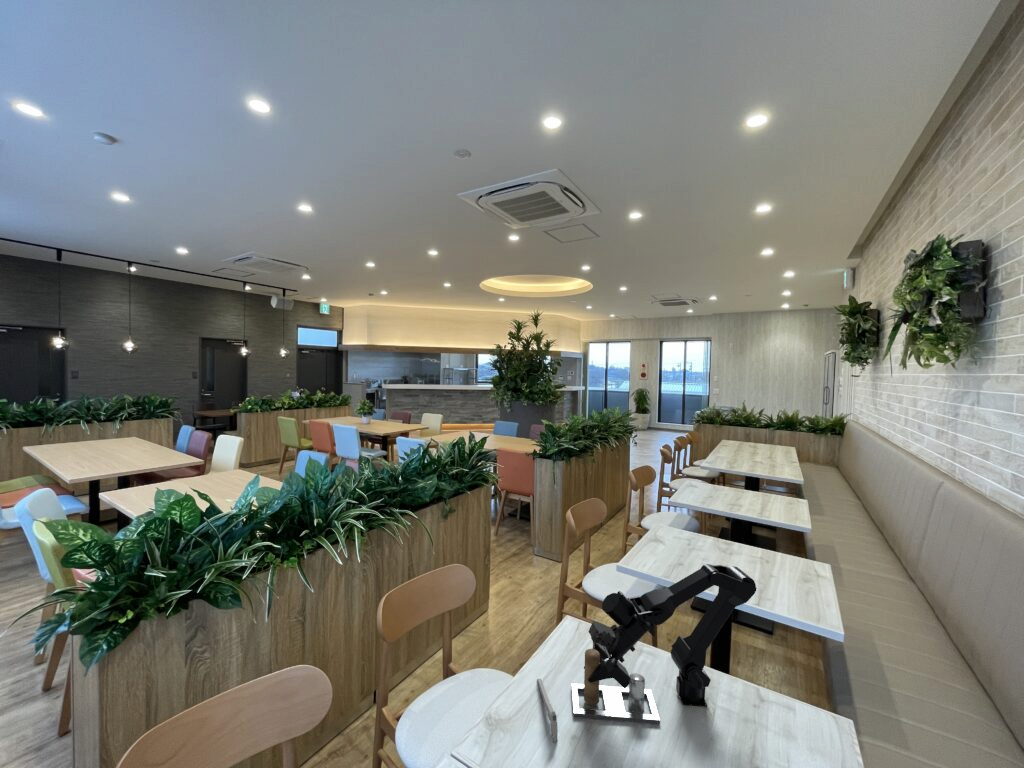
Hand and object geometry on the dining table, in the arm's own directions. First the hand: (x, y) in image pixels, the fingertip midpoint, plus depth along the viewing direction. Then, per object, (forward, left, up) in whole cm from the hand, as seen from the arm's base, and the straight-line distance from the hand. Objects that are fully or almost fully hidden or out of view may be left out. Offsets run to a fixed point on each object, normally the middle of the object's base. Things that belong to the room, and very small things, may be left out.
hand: (586, 675), depth 114 cm
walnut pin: (-1, 0, -7) cm, 7 cm away
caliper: (+11, +3, -9) cm, 14 cm away
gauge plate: (-7, 0, -8) cm, 11 cm away
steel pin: (-13, 0, -8) cm, 16 cm away
